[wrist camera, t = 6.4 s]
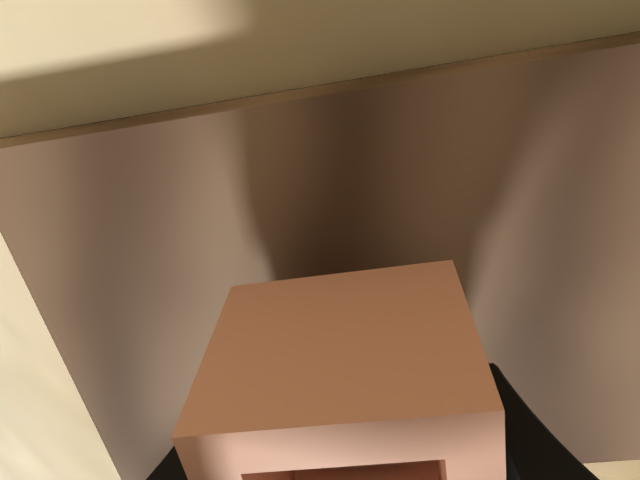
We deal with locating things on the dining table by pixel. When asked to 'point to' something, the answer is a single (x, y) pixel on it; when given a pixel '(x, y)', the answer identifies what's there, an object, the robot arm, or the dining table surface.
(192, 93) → the dining table surface
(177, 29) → the dining table surface
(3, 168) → the board
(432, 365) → the collar
